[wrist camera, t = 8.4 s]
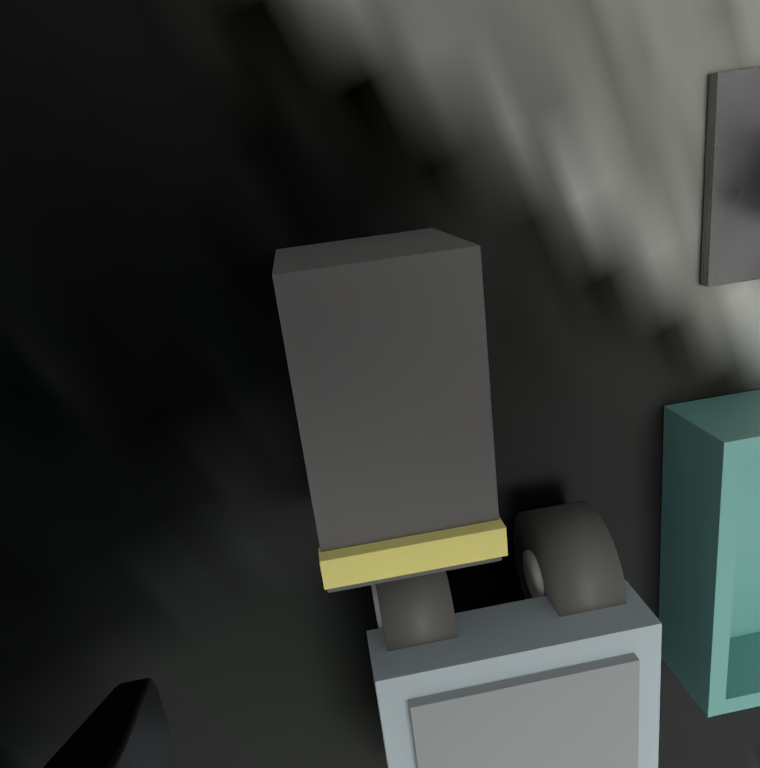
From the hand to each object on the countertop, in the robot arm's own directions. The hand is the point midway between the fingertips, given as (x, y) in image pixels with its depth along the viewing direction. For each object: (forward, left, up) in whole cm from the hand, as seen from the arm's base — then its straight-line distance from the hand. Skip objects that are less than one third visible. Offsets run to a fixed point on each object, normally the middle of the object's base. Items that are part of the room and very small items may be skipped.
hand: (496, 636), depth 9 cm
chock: (0, 0, -12) cm, 12 cm away
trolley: (+2, -10, -12) cm, 15 cm away
